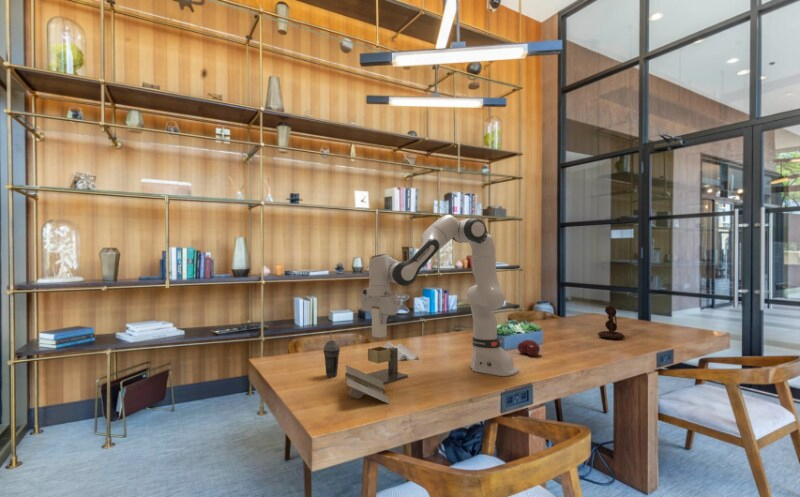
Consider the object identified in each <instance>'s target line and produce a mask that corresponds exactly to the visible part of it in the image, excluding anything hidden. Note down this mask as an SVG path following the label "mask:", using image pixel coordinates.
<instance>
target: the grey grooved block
mask: <svg viewBox="0 0 800 497" xmlns="http://www.w3.org/2000/svg"><path fill="white" fill-rule="evenodd" d="M367 374H368V373H365V372H362V371H361V370H359V369H356V368H353V367H352V366H349V365H347V364H346V365H345V374H344V381H345V382H346V385H347V386H348V387H350V388H349V389H348V396H350V397H352V398H355V399H357V400H359V399H360V400H361V398H363V396H365V395H369V396H371V397H373V398H375V399H377V400H379V401H382V402H384V403H386V404H390V401H389V397H388V395H387V394H384V392H385V390H386V387H385V385H383V381H381V380H379V379H376V378H374V377H372V376H370V375H367Z"/></svg>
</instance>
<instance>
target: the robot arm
mask: <svg viewBox="0 0 800 497" xmlns="http://www.w3.org/2000/svg"><path fill="white" fill-rule="evenodd" d="M420 240H421V246H420V248H419V249H418V250H417V251H416V252H415V253H414V254H413V255H412V256H411V257H410V258H409V259H407V260H405V261H399V260H396V259H394V258H393V257H391V256H390V255H388V254H386V253H380V254H376V255H373V256H371V257H370V260H369V264H368V265H369V266H368V277H369V283H368V287H366V288H364V289H362V290H361V310H362V311H363V312H367V313H370V317H371V318H372V306H375V307H379V313H380V314H383V319H382V320H381V324H386V325H387V320H388V318H389V316H395V315H397V314H398V304H397V303H398V302H397V298H396V297H397V296H396V294H394V292H390V283H394V284H398V285H400V286H403V287H408V286H410V285H412V284H413V283H414V282H415V281H416V279H417V278H418V275H419V273H420V271H421V270H422V268H423V267H424V266H425V265H426V264H427V263H428V262H429V261H430V260H431V259H432V258H433V256H435V255H436V254H437V253H438V252H439V251H440V250H441V249H442V248H444V247H445V246H446V245H447V244H448V243H450V241H451V240H453V241H455V242H457V243H461V244H463V243H465V244H466V243H469V245H470V248H471V272H472V275H473V277H474V280H475V283H476V284H475V285H471V286H470V287H469V288H468V290H467V292H466V298H467V301H468V303H469V306H470V311H471V315H472V322H473V324H472V327H473V329H472V330H473V331H472V332H473V334H472V335H473V337H472V347H473V348H472V355H471V356H472V357H471V361H470V362H471V363H470V366H469V367H470V368H471V371H472V372H477V373H482V374H487V375H492V376H493V375H494V376H499V377H508V376H509V377H510V376H513V375H516V374H518V373H519V371H520V370H519V367H517V366H515V365H514V359H513V357H512V356H511V355H510V354H509V353H508V352H507V351H506V350H505V349H504V348H503V347H501V345H502V344H503V340H499V337H498V321H497V319H496V317H495V314H494V311H495V310H499V309H501V308H502V307H503V306H504V304H505V301H506V300H505V299H506V297H505V294H504V292H503V291H502V288H501V286H500V282H499V278H498V275H497V267H496V266H497V263H496V262H497V261H496V249H495V248H496V247H495V242H494V238H493V236H492V235H491V234H489V232H488V230H487V225H486V224H485V222H484V221H483V220H482V219H479V218H477V217H472V218H464V219H461V220H458V219H457V218H456V217H455V216H453V215H451V214H446V215H443V216H441V217H440V218H438V219H437V220H435V222H433V223H432V224H431V225H430V226H428V228H426V230H425V231H424V232H423V233H422V235H421V237H420Z"/></svg>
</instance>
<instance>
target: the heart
mask: <svg viewBox="0 0 800 497" xmlns="http://www.w3.org/2000/svg"><path fill="white" fill-rule="evenodd" d="M540 349H541V348H540V345H539V344H538V343H537V342H536V341H534V340H532V339H526V340H523V341H521V342H520V343H519V342H518V345H517V350H518V352H519V353H521V354H522V355H523V354H524V355H527V356H531V357H535V356H537V355H538V354H539V353H540Z"/></svg>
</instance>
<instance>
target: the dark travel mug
mask: <svg viewBox="0 0 800 497" xmlns="http://www.w3.org/2000/svg"><path fill="white" fill-rule="evenodd" d="M329 335H330V340H329V341H327V342H326V343H325V344H324V347H323V350H322V351H323V355H324V363H325V365H324V366H325V374H326V378H329V379H332V378H336V377H338V369H339V357H340V356H339V355H340V346H339V343H337V341H334V340H332V339H333V338H332V330H330V331H329Z"/></svg>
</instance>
